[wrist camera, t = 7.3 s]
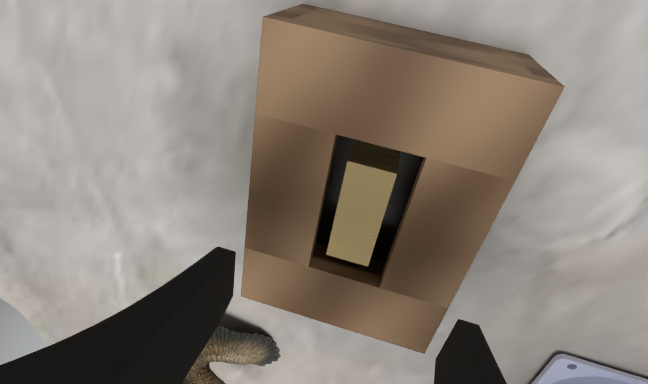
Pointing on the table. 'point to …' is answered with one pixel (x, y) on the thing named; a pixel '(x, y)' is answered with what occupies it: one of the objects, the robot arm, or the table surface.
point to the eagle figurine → (231, 354)
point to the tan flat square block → (363, 201)
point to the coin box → (392, 132)
